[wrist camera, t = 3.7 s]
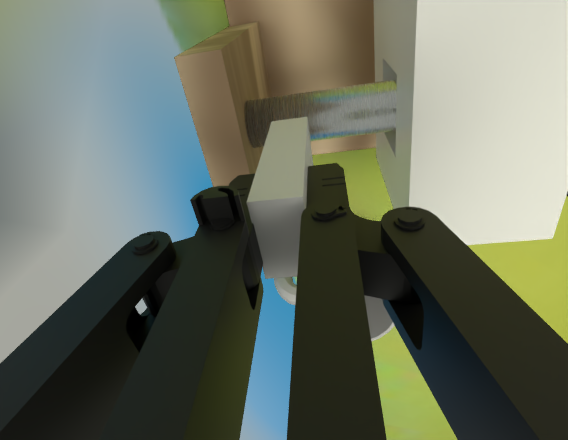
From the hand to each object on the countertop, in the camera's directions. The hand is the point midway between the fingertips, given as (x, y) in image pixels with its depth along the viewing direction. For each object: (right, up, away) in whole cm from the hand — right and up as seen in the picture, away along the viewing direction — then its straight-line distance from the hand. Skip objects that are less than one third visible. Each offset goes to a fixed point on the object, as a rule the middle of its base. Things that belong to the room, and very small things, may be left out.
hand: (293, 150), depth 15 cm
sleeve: (+8, +6, +6) cm, 11 cm away
